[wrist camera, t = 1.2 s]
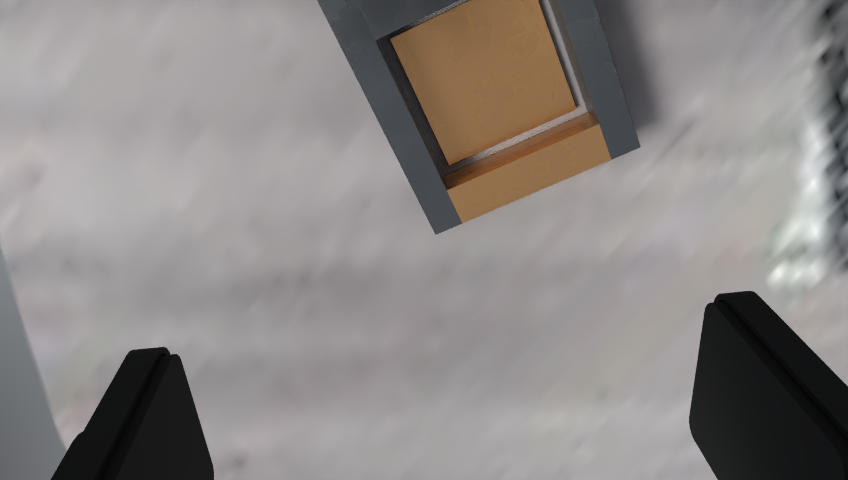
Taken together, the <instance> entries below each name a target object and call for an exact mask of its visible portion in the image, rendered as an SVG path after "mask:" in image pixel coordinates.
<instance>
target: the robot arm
mask: <svg viewBox="0 0 848 480" xmlns="http://www.w3.org/2000/svg"><path fill="white" fill-rule="evenodd" d="M689 425H690V430H691V433H692V436H693V438H694V440H695V442H696V444H697V445H698V447H699V449H700V450H701V452H702V454H703V455H704V457H705V459H706V461H707V462H708V464H709V466H710V467H711V469H712V471H713V472H714V474H715V476H716V477H717V479H718V480H848V386H847V385H846V384H845V383H844V382H843V381H842V380H841V379H840V378H839V377H838V376H837V375H836V374H835V373H834V372H833V371H832V370H831V369H830V368H829V367H828V366H827V365H826V364H825V363H824V362H823V361H822V360H821V359H820V358H819V357H818V356H817V355H816V354H815V353H814V352H813V351H812V350H811V349H810V348H809V347H808V346H807V345H806V343H805V342H804V341H803V340H802V339H801V338H800V337H799V336H798V335H797V334H796V333H795V332H794V331H793V330H792V329H791V328H790V327H789V326H788V325H787V324H786V323H785V322H784V321H783V320H782V319H781V318H780V317H779V316H778V315H777V314H776V313H775V312H774V311H773V310H772V309H771V308H770V307H769V306H768V305H767V304H766V303H765V302H764V301H763V300H762V299H761V298H760V297H759V296H758V295H757V294H756V293H755V292H753V291H744V292H733V293H723V294H719V295H717V296H716V298H715V300H714V303H709V304H707V306H706V308H705V312H704V319H703V326H702V333H701V340H700V347H699V354H698V361H697V367H696V374H695V381H694V388H693V395H692V402H691V409H690V416H689ZM51 480H214V469H213V464H212V461H211V457H210V454H209V451H208V447H207V444H206V441H205V437H204V434H203V431H202V428H201V424H200V421H199V418H198V414H197V411H196V408H195V404H194V401H193V398H192V394H191V391H190V388H189V384H188V381H187V378H186V374H185V371H184V368H183V365H182V361H181V359H180V357H179V356H178V355H177V354H172V355H170V352H169V351H168V349H167V348H165V347H158V348H148V349H137V350H132V351H130V352H129V353H128V354H127V355H126V357H125V359H124V361H123V363H122V364H121V366H120V368H119V370H118V371H117V373H116V375H115V377H114V378H113V380H112V382H111V384H110V385H109V387H108V389H107V391H106V392H105V394H104V396H103V398H102V399H101V401H100V403H99V405H98V407H97V408H96V410H95V412H94V414H93V415H92V417H91V419H90V421H89V422H88V424H87V426H86V428H85V429H84V431H83V432H81V433H80V434H78V435H77V437H76V438H75V439H74V441H73V442H72V444H71V445H70V447H69V449H68V451H67V452H66V454H65V456H64V458H63V459H62V461H61V463H60V465H59V466H58V468H57V470H56V471H55V473H54V475H53V477H52V478H51Z"/></svg>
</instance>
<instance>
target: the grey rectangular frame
mask: <svg viewBox="0 0 848 480" xmlns="http://www.w3.org/2000/svg"><path fill="white" fill-rule="evenodd" d="M317 1H318V3H319V5H320V7H321V9H322V11H323V13H324V14H325V16H326V18H327V20H328V22H329V24H330V26H331V28H332V30H333V32H334V34H335V36H336V38H337V40H338V42H339V44H340V46H341V48H342V50H343V52H344V54H345V56H346V58H347V60H348V62H349V64H350V66H351V68H352V70H353V72H354V74H355V76H356V78H357V80H358V82H359V84H360V86H361V88H362V90H363V92H364V94H365V96H366V98H367V100H368V102H369V104H370V106H371V108H372V110H373V112H374V114H375V116H376V118H377V119H378V121H379V123H380V125H381V127H382V129H383V131H384V133H385V135H386V137H387V139H388V141H389V143H390V145H391V147H392V149H393V151H394V153H395V155H396V157H397V159H398V161H399V163H400V165H401V167H402V169H403V171H404V173H405V175H406V177H407V179H408V181H409V183H410V185H411V187H412V189H413V191H414V193H415V195H416V197H417V199H418V201H419V203H420V205H421V207H422V209H423V211H424V213H425V215H426V217H427V219H428V221H429V223H430V225H431V226H432V228H433V230H434V232H435V234H439V233H441V232H443V231H446V230H448V229H450V228H453V227H455V226H457V225H460V224H462V223H464V222H467V221H469V220H471V219H474V218H476V217H478V216H481V215H483V214H485V213H488V212H490V211H492V210H495V209H497V208H499V207H502V206H504V205H506V204H509V203H511V202H513V201H516V200H518V199H520V198H523V197H525V196H527V195H530V194H532V193H534V192H537V191H539V190H541V189H544V188H546V187H548V186H551V185H553V184H555V183H558V182H560V181H562V180H565V179H567V178H569V177H572V176H574V175H576V174H579V173H581V172H583V171H586V170H588V169H590V168H593V167H595V166H597V165H600V164H602V163H604V162H607V161H609V160H611V159H614V158H616V157H619V156H621V155H623V154H626V153H628V152H630V151H633V150H635V149H637V148H640V144H639V141H638V138H637V134H636V131H635V128H634V125H633V122H632V119H631V115H630V112H629V109H628V106H627V103H626V100H625V97H624V93H623V90H622V87H621V84H620V81H619V78H618V74H617V71H616V68H615V65H614V62H613V59H612V56H611V52H610V49H609V46H608V43H607V40H606V37H605V33H604V30H603V27H602V24H601V21H600V18H599V14H598V11H597V8H596V5H595V2H594V0H549V2H550V4H551V7H552V10H553V13H554V16H555V19H556V22H557V25H558V28H559V30H560V33H561V36H562V39H563V42H564V45H565V48H566V51H567V53H568V56H569V59H570V62H571V65H572V68H573V71H574V74H575V76H576V79H577V82H578V85H579V88H580V91H581V94H582V97H583V100H584V102H585V105H586V108H587V111H588V113H585V114H583V115H581V116H579V117H576V118H574V119H572V120H570V121H567V122H565V123H563V124H561V125H558V126H556V127H554V128H552V129H549V130H547V131H545V132H542V133H540V134H538V135H536V136H533V137H531V138H529V139H527V140H524V141H522V142H520V143H518V144H515V145H513V146H511V147H509V148H506V149H504V150H502V151H499V152H497V153H495V154H493V155H490V156H488V157H486V158H484V159H481V160H479V161H477V162H475V163H472V164H470V165H468V166H466V167H463V168H461V169H459V170H456V171H454V172H452V173H450V174H447V175H445V176H444V175H443V173H442V171H441V169H440V167H439V165H438V163H437V160H436V158H435V156H434V154H433V152H432V150H431V148H430V146H429V144H428V142H427V139H426V137H425V135H424V133H423V131H422V129H421V127H420V125H419V123H418V121H417V118H416V116H415V114H414V112H413V110H412V108H411V106H410V104H409V102H408V99H407V97H406V95H405V93H404V91H403V89H402V87H401V85H400V83H399V81H398V78H397V76H396V74H395V72H394V70H393V68H392V66H391V64H390V62H389V60H388V57H387V55H386V53H385V51H384V49H383V47H382V45H381V43H380V41H379V39H380V38H382V37H384V36H386V35H388V34H390V33H392V32H394V31H396V30H398V29H400V28H402V27H404V26H406V25H408V24H411V23H413V22H415V21H417V20H419V19H421V18H423V17H425V16H427V15H429V14H431V13H433V12H435V11H437V10H439V9H441V8H444V7H446V6H448V5H450V4H452V3H454V2H456V1H458V0H317ZM390 40H391V42H392V44H393V46H394V49H395V51H396V53H397V55H398V57H399V59H400V61H401V64H402V66H403V68H404V70H405V72H406V74H407V76H408V79H409V81H410V83H411V85H412V87H413V89H414V91H415V94H416V96H417V98H418V100H419V102H420V104H421V106H422V109H423V111H424V113H425V115H426V117H427V119H428V121H429V123H430V126H431V128H432V130H433V132H434V134H435V136H436V138H437V141H438V143H439V145H440V147H441V149H442V151H443V153H444V156H445V158H446V160H447V162H448V164H449V165H451V164H453V163H456V162H458V161H460V160H462V159H465V158H467V157H469V156H471V155H474V154H476V153H478V152H480V151H483V150H485V149H487V148H489V147H492V146H494V145H496V144H498V143H501V142H503V141H505V140H507V139H510V138H512V137H514V136H516V135H519V134H521V133H523V132H525V131H528V130H530V129H532V128H534V127H537V126H539V125H541V124H543V123H546V122H548V121H550V120H552V119H555V118H557V117H559V116H562V115H564V114H566V113H568V112H571V111H573V110H575V109H576V106H575V103H574V100H573V97H572V95H571V92H570V89H569V86H568V83H567V81H566V78H565V75H564V72H563V69H562V66H561V64H560V61H559V58H558V55H557V52H556V50H555V47H554V44H553V41H552V38H551V35H550V33H549V30H548V27H547V24H546V21H545V18H544V16H543V13H542V10H541V7H540V4H539V2H538V0H469V1H467V2H465V3H462V4H460V5H458V6H456V7H454V8H452V9H450V10H448V11H446V12H444V13H442V14H440V15H438V16H436V17H434V18H431V19H429V20H427V21H425V22H423V23H421V24H419V25H417V26H415V27H413V28H411V29H409V30H407V31H405V32H402V33H400V34H398V35H396V36H394V37H392V38H390Z"/></svg>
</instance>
